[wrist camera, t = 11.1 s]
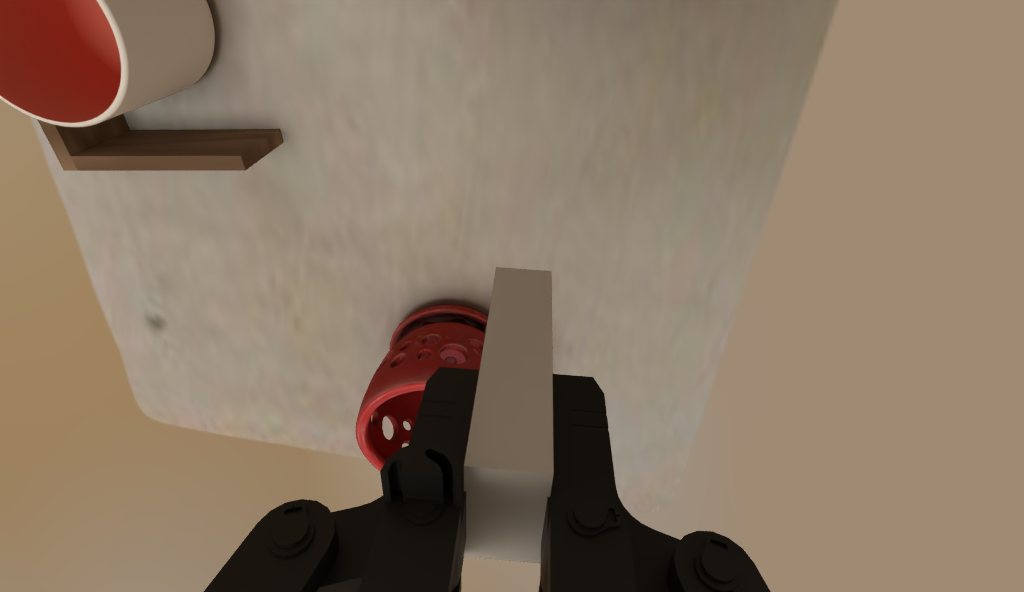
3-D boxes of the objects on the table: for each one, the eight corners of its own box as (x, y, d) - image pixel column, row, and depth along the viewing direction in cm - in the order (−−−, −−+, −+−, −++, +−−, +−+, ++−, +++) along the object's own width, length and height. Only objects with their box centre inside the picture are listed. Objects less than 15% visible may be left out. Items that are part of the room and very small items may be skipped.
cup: (38, -57, 34) (-129, -57, 26) (172, -97, 32) (40, -112, 24) (130, 101, 39) (17, 142, 31) (249, 73, 38) (163, 109, 29)
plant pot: (412, 400, 55) (382, 500, 45) (374, 298, 48) (328, 390, 38) (535, 391, 53) (531, 493, 43) (514, 283, 46) (504, 376, 36)
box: (-10, -158, 31) (-117, -178, 26) (199, -168, 30) (130, -190, 25) (123, 143, 41) (63, 170, 36) (283, 142, 40) (245, 170, 35)
